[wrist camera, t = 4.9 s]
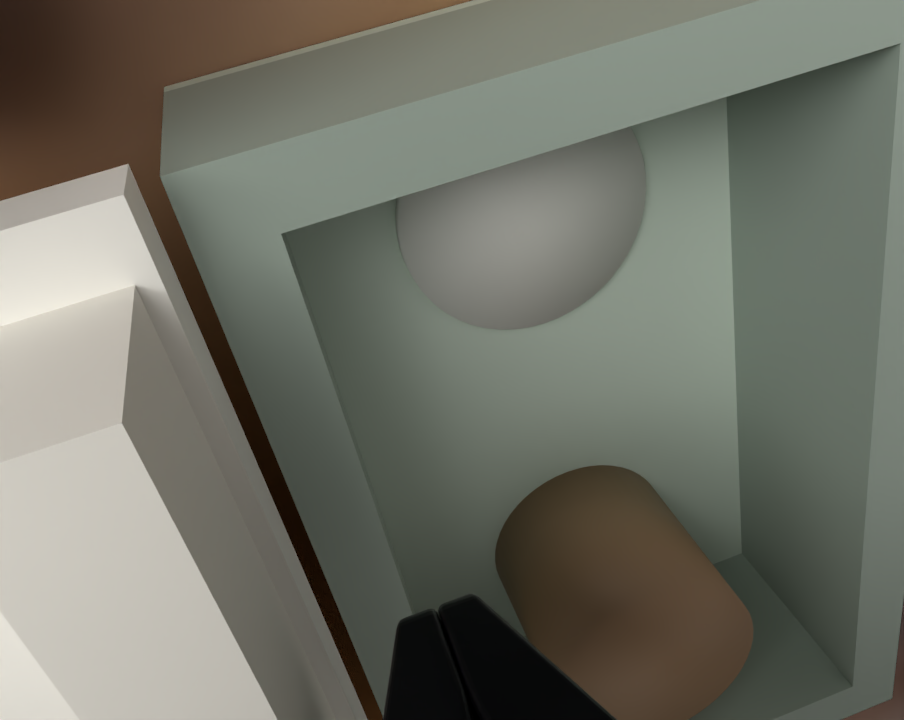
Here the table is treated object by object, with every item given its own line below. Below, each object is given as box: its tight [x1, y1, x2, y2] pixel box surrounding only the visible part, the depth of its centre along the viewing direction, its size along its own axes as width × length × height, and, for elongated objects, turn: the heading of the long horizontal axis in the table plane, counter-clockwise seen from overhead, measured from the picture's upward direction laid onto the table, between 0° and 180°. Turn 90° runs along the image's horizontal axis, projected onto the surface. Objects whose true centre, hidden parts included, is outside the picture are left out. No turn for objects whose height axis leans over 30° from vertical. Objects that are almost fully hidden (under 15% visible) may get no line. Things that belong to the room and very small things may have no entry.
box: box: [160, 0, 904, 720], centre depth 12 cm, size 12×8×4 cm, turn 12°
